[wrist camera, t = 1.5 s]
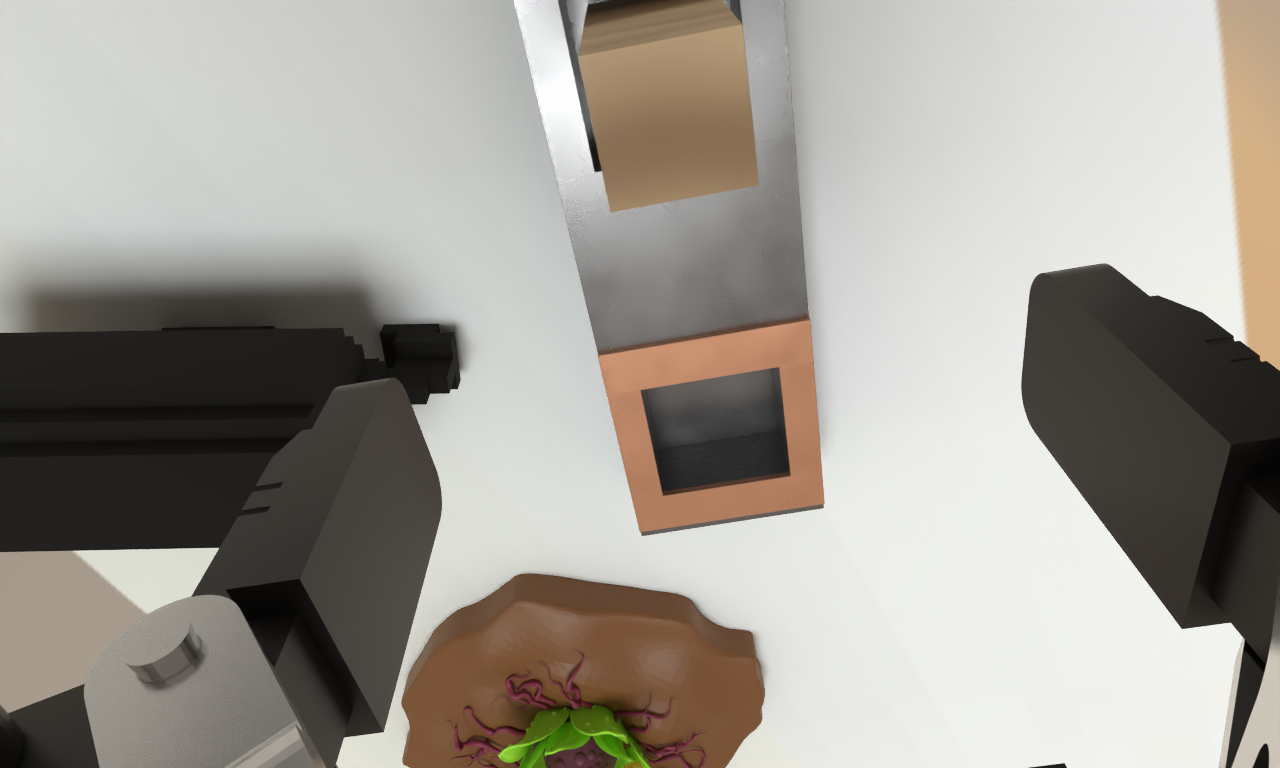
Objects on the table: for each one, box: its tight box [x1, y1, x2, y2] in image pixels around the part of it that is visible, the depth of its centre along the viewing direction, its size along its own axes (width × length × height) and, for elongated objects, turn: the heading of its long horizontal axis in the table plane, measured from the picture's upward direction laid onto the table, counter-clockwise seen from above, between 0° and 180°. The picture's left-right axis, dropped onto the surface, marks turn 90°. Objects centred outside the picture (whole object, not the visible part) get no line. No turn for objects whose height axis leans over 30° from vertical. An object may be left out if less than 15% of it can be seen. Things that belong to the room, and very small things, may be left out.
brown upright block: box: [578, 0, 759, 213], centre depth 25 cm, size 4×4×9 cm
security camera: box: [0, 324, 461, 552], centre depth 31 cm, size 7×18×10 cm, turn 90°
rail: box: [514, 0, 824, 536], centre depth 31 cm, size 24×8×4 cm, turn 10°
